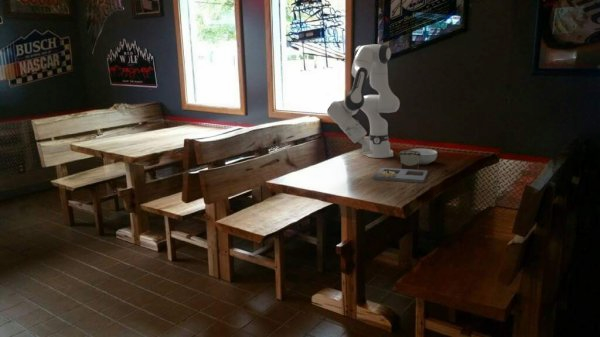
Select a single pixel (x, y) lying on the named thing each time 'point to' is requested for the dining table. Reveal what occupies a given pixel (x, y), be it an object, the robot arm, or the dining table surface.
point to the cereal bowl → (426, 155)
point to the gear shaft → (366, 148)
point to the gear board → (400, 175)
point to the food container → (410, 159)
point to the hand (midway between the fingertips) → (367, 144)
